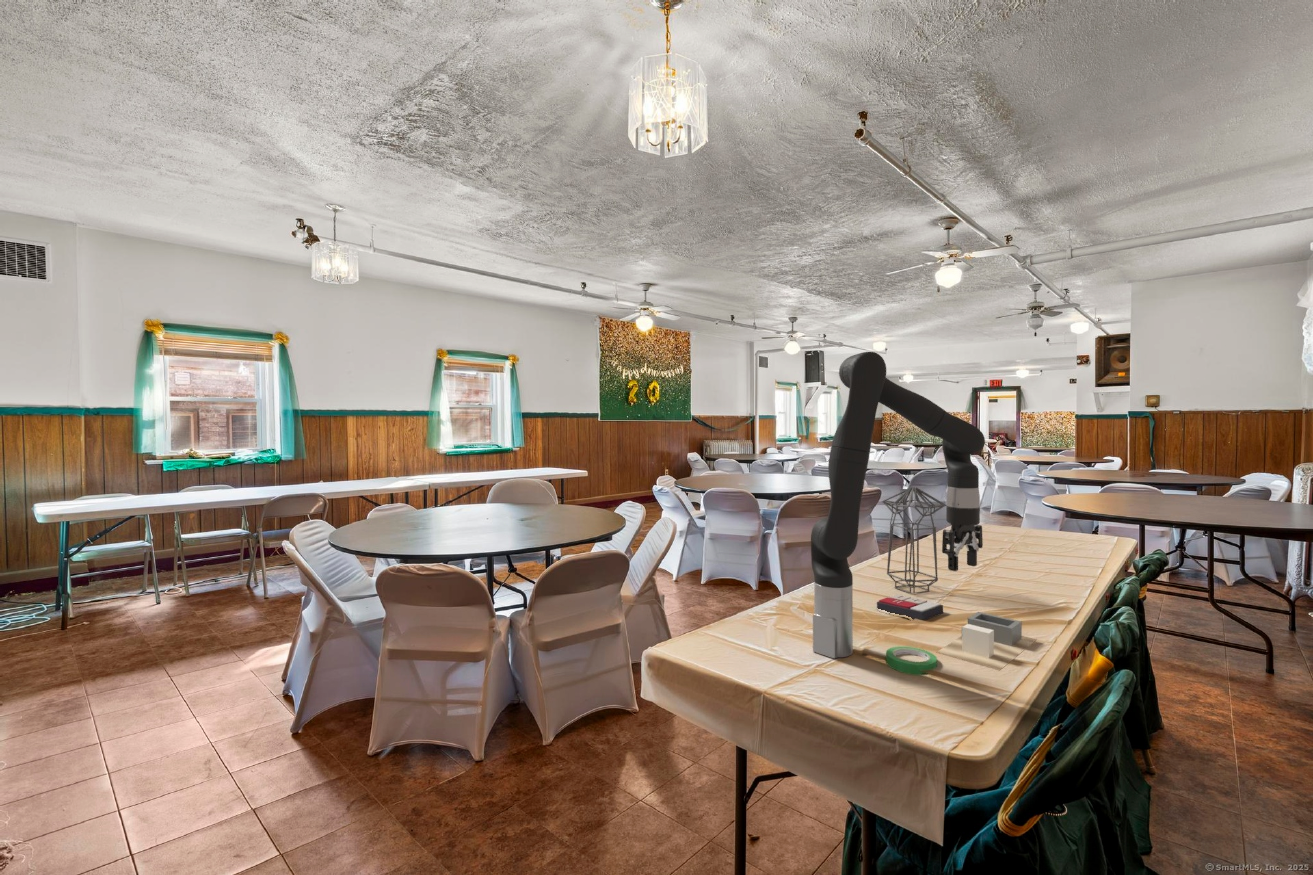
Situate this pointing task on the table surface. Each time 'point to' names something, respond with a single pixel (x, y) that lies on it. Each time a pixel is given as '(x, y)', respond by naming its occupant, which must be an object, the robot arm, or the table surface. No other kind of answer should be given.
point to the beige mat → (997, 661)
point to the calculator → (910, 607)
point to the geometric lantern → (912, 534)
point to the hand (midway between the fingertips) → (962, 568)
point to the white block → (978, 640)
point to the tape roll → (910, 666)
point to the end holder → (999, 627)
